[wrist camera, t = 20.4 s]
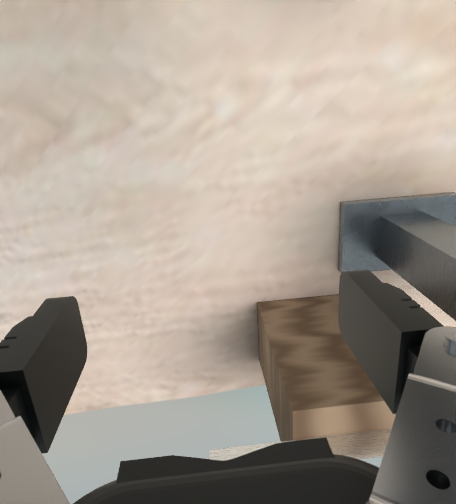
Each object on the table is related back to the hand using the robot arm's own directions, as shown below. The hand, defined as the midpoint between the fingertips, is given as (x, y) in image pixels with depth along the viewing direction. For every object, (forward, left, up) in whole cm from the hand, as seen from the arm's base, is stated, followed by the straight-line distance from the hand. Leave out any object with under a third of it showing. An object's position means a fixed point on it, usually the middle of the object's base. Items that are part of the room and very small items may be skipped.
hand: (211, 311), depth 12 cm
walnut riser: (+30, -1, -40) cm, 50 cm away
